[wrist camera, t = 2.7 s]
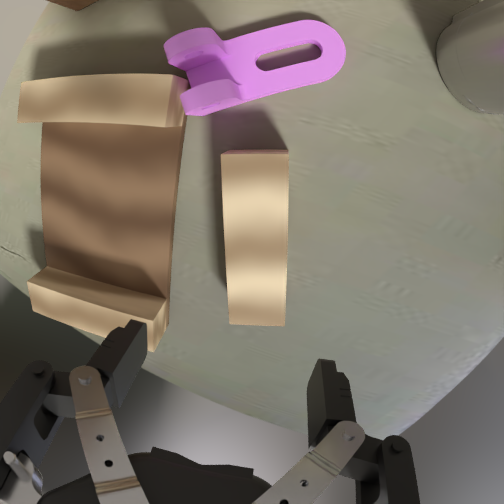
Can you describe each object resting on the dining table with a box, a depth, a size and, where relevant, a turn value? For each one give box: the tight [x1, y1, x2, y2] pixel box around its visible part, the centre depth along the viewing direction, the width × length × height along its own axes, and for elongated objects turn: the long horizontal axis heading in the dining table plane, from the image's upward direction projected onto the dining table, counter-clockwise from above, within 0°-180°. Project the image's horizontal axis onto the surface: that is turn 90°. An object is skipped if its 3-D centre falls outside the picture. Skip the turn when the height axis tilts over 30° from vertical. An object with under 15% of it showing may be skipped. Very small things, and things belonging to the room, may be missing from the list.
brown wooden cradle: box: [17, 74, 191, 352], centre depth 27 cm, size 25×16×5 cm, turn 170°
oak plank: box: [221, 150, 289, 326], centre depth 27 cm, size 15×5×4 cm, turn 1°
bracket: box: [164, 20, 346, 116], centre depth 20 cm, size 13×6×7 cm, turn 107°
